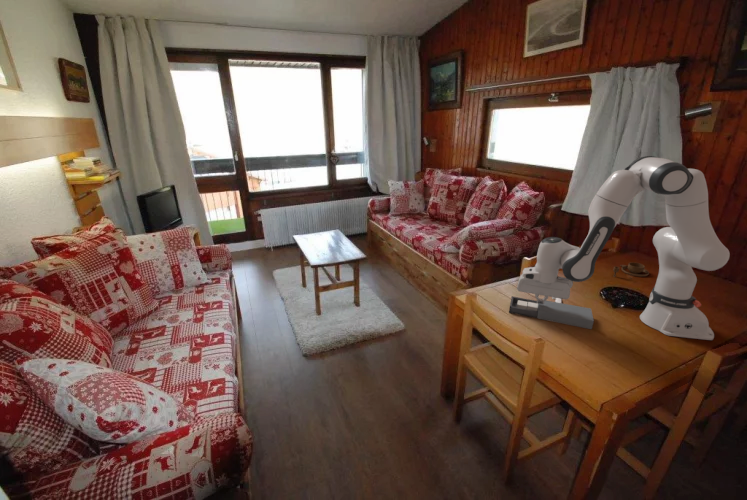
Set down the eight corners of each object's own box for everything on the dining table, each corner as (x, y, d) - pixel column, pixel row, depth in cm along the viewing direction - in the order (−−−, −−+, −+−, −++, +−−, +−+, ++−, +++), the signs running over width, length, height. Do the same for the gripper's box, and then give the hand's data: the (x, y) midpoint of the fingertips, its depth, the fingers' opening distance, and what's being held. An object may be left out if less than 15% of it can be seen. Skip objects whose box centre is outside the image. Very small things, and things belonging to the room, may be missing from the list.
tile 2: (537, 308, 147) (538, 303, 146) (536, 312, 143) (537, 308, 142) (527, 306, 148) (528, 301, 148) (526, 310, 145) (527, 305, 144)
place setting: (656, 281, 169) (659, 271, 167) (612, 278, 173) (615, 268, 171) (638, 267, 185) (641, 257, 183) (598, 265, 189) (601, 255, 187)
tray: (536, 306, 149) (537, 301, 148) (536, 318, 141) (537, 312, 140) (510, 301, 154) (511, 296, 153) (508, 312, 146) (509, 306, 145)
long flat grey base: (588, 316, 141) (590, 308, 140) (591, 329, 133) (593, 321, 131) (537, 306, 149) (538, 299, 148) (537, 318, 141) (538, 310, 140)
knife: (545, 278, 174) (561, 281, 170) (544, 281, 174) (561, 284, 171) (542, 303, 149) (561, 307, 145) (541, 306, 149) (561, 310, 146)
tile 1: (517, 300, 149) (517, 304, 150) (517, 304, 146) (516, 309, 147) (527, 301, 147) (526, 306, 148) (527, 306, 144) (526, 311, 145)
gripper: (573, 275, 136) (567, 304, 141) (520, 267, 145) (515, 295, 150) (574, 282, 131) (567, 311, 136) (519, 273, 139) (514, 301, 145)
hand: (540, 303), depth 143 cm, fingers closed
